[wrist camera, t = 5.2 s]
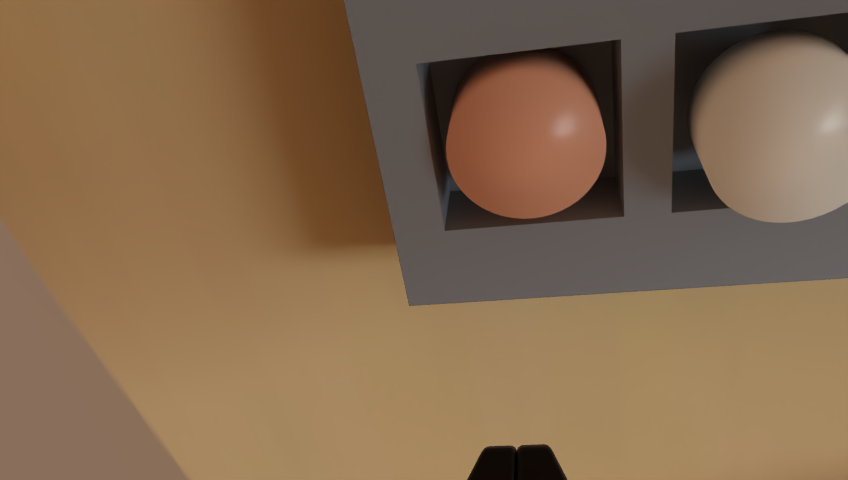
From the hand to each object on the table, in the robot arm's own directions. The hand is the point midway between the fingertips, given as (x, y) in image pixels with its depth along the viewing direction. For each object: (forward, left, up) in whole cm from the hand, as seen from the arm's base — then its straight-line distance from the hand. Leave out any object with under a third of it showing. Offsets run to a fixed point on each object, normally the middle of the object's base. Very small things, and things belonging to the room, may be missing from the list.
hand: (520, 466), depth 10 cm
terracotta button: (0, 0, -11) cm, 11 cm away
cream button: (-3, -5, -10) cm, 11 cm away
